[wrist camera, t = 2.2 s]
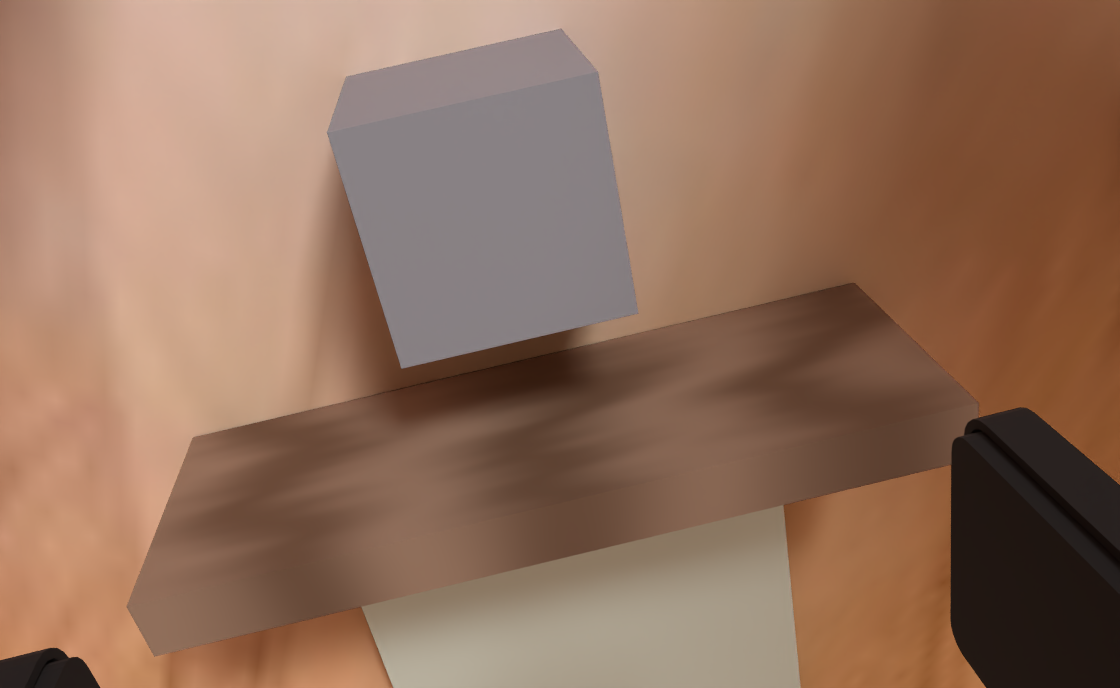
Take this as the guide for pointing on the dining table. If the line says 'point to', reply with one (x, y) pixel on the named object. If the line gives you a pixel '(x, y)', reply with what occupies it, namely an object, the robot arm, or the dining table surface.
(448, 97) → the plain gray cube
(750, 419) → the walnut screen
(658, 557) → the display mat
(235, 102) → the dining table surface
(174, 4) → the dining table surface
